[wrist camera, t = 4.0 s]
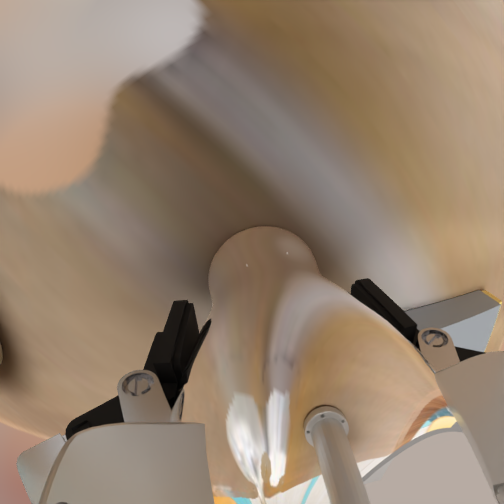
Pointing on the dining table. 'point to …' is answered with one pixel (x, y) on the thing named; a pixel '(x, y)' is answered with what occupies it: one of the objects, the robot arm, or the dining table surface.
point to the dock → (462, 318)
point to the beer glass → (317, 392)
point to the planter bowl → (1, 354)
